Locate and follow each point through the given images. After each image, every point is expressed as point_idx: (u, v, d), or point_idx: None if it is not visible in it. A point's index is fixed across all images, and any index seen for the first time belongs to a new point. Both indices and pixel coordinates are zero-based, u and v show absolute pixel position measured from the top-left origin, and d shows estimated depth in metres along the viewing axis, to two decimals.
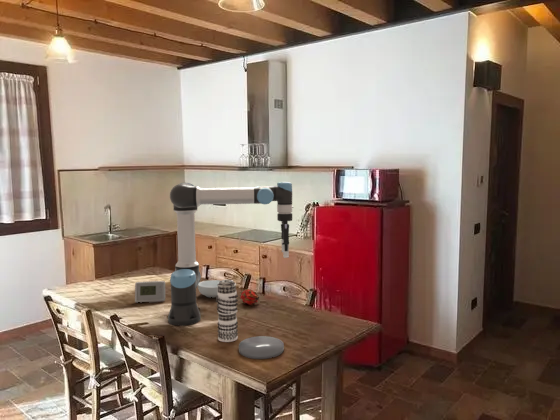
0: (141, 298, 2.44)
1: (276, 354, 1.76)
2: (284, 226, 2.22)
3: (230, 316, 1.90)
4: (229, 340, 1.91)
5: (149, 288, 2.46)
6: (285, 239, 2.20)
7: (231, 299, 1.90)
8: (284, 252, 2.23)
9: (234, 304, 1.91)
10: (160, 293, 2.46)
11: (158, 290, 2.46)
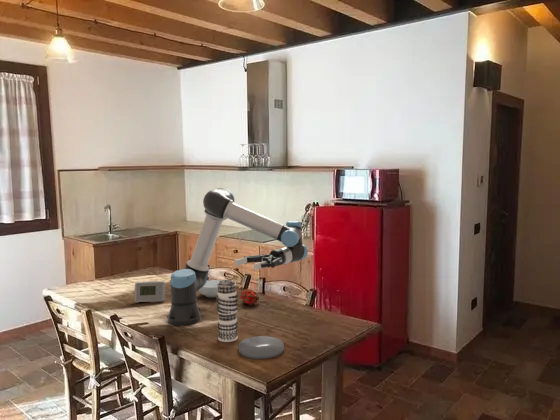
0: (141, 298, 2.44)
1: (276, 354, 1.76)
2: (280, 259, 2.04)
3: (230, 316, 1.90)
4: (229, 340, 1.91)
5: (149, 288, 2.46)
6: (274, 262, 1.98)
7: (231, 299, 1.90)
8: (259, 264, 1.95)
9: (234, 304, 1.91)
10: (160, 293, 2.46)
11: (158, 290, 2.46)
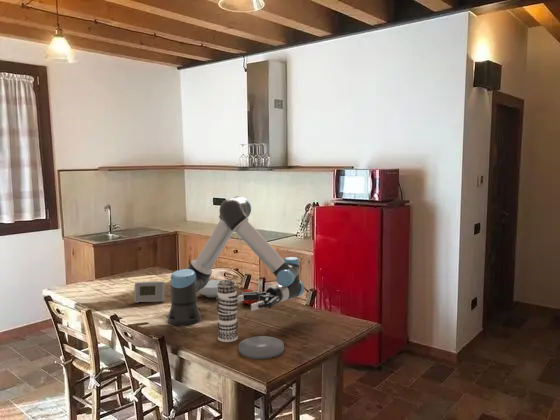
0: (140, 298, 2.44)
1: (276, 354, 1.76)
2: (278, 298, 2.03)
3: (230, 316, 1.90)
4: (229, 340, 1.91)
5: (149, 288, 2.46)
6: (272, 303, 1.97)
7: (231, 299, 1.90)
8: (256, 304, 1.94)
9: (234, 304, 1.91)
10: (159, 293, 2.46)
11: (157, 290, 2.46)
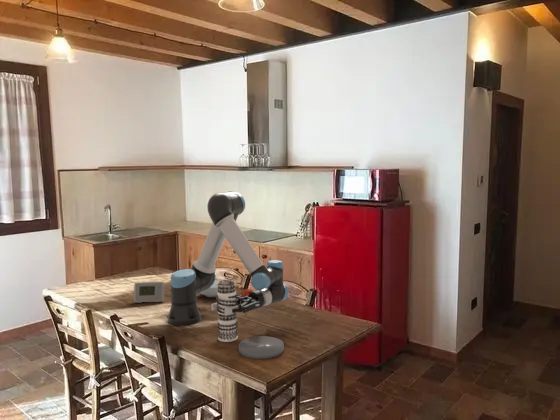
0: (140, 298, 2.44)
1: (276, 354, 1.76)
2: (257, 303, 1.96)
3: (230, 316, 1.90)
4: (229, 340, 1.91)
5: (148, 288, 2.46)
6: (247, 307, 1.91)
7: (231, 299, 1.90)
8: (230, 309, 1.88)
9: (234, 304, 1.91)
10: (159, 293, 2.45)
11: (157, 290, 2.46)
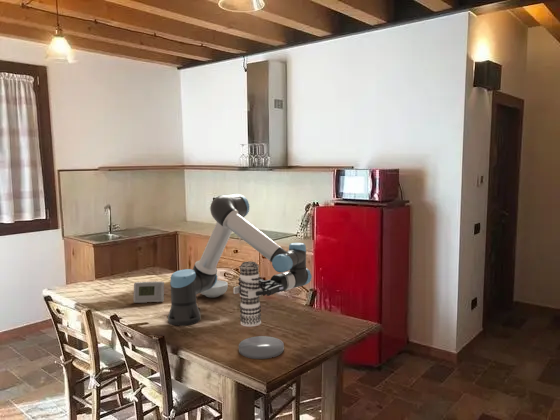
0: (139, 298, 2.44)
1: (276, 354, 1.76)
2: (281, 286, 1.87)
3: (253, 299, 1.81)
4: (252, 324, 1.82)
5: (148, 289, 2.46)
6: (271, 290, 1.82)
7: (254, 281, 1.81)
8: (254, 292, 1.79)
9: (257, 287, 1.82)
10: (158, 294, 2.45)
11: (157, 290, 2.46)
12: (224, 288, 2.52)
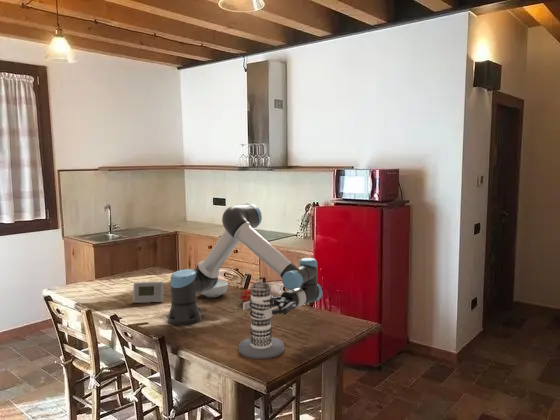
0: (139, 298, 2.44)
1: (276, 354, 1.76)
2: (294, 303, 1.84)
3: (264, 321, 1.78)
4: (263, 347, 1.78)
5: (148, 289, 2.45)
6: (287, 309, 1.78)
7: (266, 303, 1.77)
8: (270, 310, 1.75)
9: (269, 308, 1.78)
10: (158, 294, 2.45)
11: (156, 291, 2.45)
12: (224, 288, 2.52)
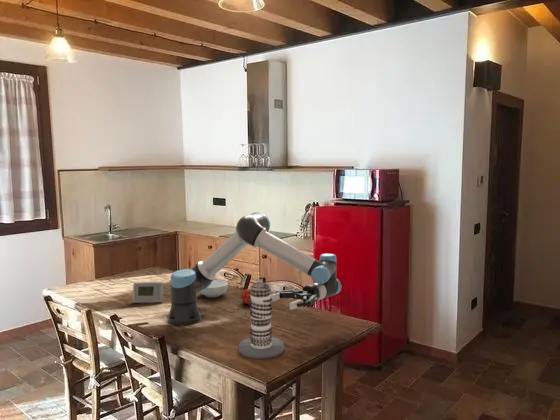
0: (139, 298, 2.44)
1: (276, 354, 1.76)
2: (316, 296, 1.92)
3: (264, 321, 1.78)
4: (263, 347, 1.78)
5: (147, 289, 2.45)
6: (311, 301, 1.87)
7: (265, 303, 1.77)
8: (295, 303, 1.84)
9: (268, 308, 1.78)
10: (158, 294, 2.45)
11: (156, 291, 2.45)
12: (224, 288, 2.52)
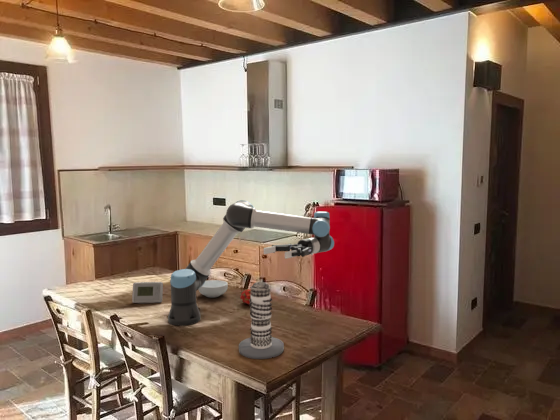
0: (138, 299, 2.43)
1: (276, 354, 1.76)
2: (310, 248, 2.04)
3: (264, 321, 1.78)
4: (263, 347, 1.78)
5: (147, 289, 2.45)
6: (305, 252, 1.98)
7: (265, 303, 1.77)
8: (290, 252, 1.95)
9: (268, 308, 1.78)
10: (157, 294, 2.44)
11: (155, 291, 2.45)
12: (224, 288, 2.52)
